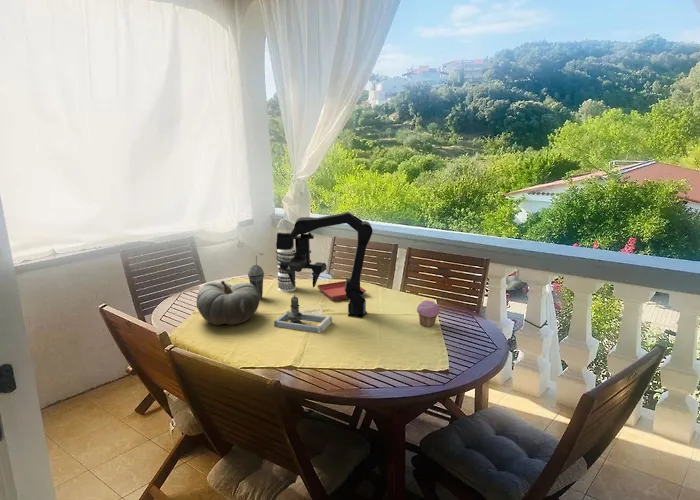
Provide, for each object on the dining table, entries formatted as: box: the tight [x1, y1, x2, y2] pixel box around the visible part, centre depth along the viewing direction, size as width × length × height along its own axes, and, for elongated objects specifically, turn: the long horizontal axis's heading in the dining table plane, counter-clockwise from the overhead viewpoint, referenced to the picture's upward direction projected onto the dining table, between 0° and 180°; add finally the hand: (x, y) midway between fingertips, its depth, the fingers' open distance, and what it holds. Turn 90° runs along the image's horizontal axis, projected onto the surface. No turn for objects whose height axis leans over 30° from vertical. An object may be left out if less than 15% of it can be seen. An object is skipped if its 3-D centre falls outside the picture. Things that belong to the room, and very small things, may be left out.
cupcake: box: [416, 299, 441, 328], centre depth 194 cm, size 9×9×10 cm
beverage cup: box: [247, 255, 265, 300], centre depth 224 cm, size 7×7×20 cm
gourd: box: [196, 280, 261, 326], centre depth 201 cm, size 25×25×17 cm
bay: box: [273, 311, 333, 334], centre depth 197 cm, size 20×11×3 cm, turn 70°
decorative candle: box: [275, 247, 297, 293], centre depth 235 cm, size 9×9×25 cm
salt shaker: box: [288, 294, 304, 324], centre depth 197 cm, size 6×6×12 cm
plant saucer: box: [316, 280, 367, 302], centre depth 232 cm, size 18×18×3 cm
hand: (303, 285), depth 203 cm, fingers open, 9 cm apart
